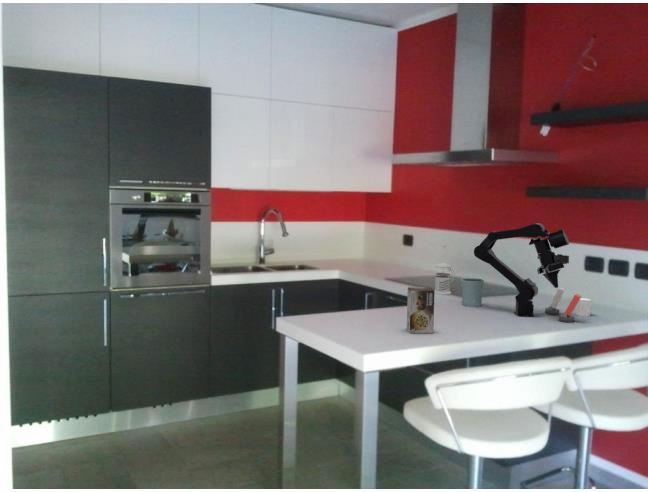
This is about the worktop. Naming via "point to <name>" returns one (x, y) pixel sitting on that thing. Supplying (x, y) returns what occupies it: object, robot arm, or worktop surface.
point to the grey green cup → (472, 291)
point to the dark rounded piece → (566, 318)
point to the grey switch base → (552, 311)
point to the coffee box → (420, 310)
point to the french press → (443, 279)
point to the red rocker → (573, 304)
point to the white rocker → (557, 298)
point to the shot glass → (583, 307)
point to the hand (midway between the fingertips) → (556, 287)
